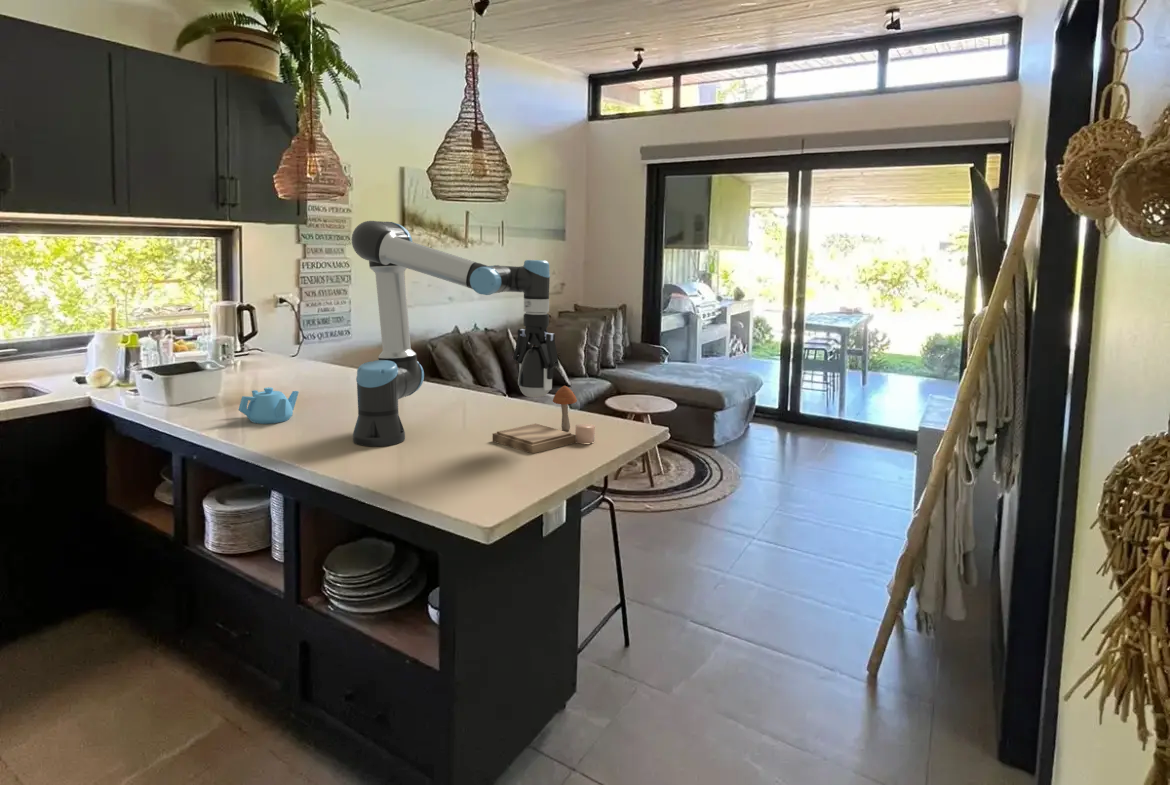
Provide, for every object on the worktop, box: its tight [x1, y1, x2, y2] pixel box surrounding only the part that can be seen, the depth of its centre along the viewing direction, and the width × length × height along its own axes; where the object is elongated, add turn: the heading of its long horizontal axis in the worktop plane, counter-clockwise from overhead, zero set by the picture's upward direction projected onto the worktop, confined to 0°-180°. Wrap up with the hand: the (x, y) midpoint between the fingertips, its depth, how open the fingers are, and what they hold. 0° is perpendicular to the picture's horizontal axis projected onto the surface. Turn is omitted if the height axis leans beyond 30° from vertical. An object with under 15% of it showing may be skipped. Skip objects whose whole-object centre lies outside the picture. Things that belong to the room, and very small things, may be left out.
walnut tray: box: [491, 423, 576, 454], centre depth 220 cm, size 18×18×3 cm
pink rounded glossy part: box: [574, 423, 596, 444], centre depth 222 cm, size 6×6×5 cm
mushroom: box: [552, 385, 578, 432], centre depth 233 cm, size 8×8×15 cm
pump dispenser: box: [517, 345, 550, 399], centre depth 216 cm, size 10×10×15 cm
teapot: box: [238, 386, 300, 425], centre depth 237 cm, size 15×15×11 cm
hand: (535, 387), depth 217 cm, fingers closed on pump dispenser, 10 cm apart
